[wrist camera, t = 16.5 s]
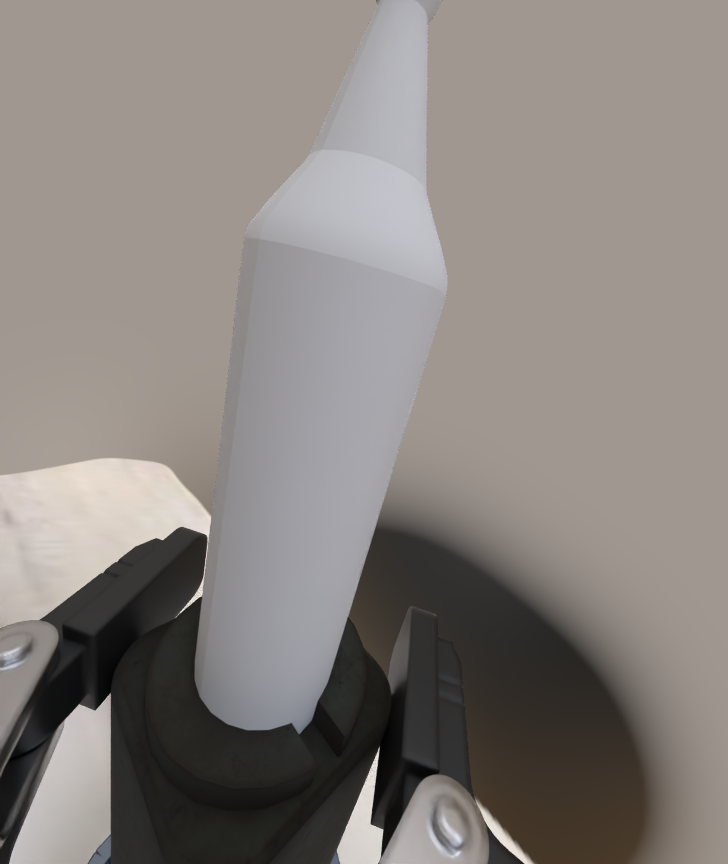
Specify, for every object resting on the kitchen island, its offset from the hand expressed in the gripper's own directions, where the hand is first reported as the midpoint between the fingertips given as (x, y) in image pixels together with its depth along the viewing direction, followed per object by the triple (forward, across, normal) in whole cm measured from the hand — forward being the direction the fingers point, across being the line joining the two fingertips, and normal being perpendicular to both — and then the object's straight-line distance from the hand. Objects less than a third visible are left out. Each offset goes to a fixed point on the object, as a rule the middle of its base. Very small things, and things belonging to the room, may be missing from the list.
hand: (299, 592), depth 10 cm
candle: (-2, 0, +13) cm, 13 cm away
